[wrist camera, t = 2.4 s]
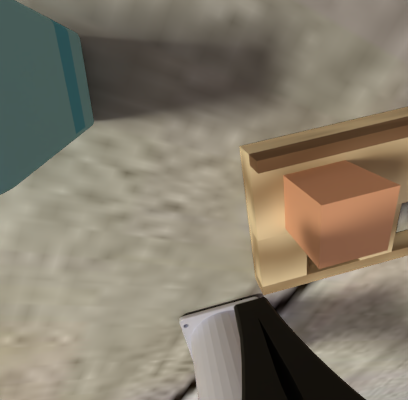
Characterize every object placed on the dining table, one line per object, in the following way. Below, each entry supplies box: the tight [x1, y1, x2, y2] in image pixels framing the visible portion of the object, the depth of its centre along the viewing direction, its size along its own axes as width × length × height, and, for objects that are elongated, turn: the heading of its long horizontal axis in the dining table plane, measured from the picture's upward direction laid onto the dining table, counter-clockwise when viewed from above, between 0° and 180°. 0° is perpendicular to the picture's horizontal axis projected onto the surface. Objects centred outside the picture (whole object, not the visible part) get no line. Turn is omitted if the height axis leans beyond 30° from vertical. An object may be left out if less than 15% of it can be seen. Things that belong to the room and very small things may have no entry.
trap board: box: [240, 107, 408, 295], centre depth 20 cm, size 13×20×4 cm, turn 101°
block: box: [283, 160, 401, 269], centre depth 16 cm, size 4×4×4 cm
